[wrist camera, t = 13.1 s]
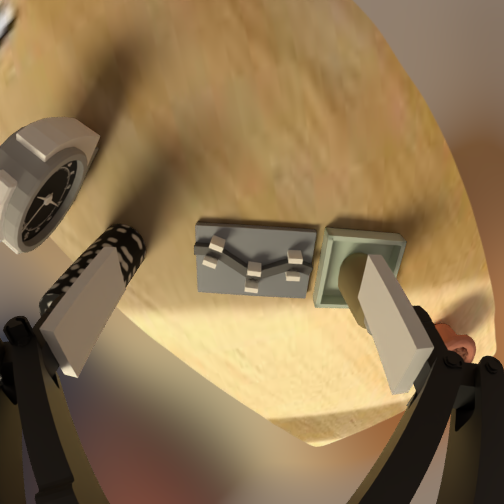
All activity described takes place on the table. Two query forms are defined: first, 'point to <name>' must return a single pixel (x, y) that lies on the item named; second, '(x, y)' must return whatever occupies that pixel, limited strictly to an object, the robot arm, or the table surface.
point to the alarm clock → (41, 178)
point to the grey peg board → (253, 259)
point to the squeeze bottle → (353, 285)
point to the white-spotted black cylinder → (115, 236)
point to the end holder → (343, 245)
